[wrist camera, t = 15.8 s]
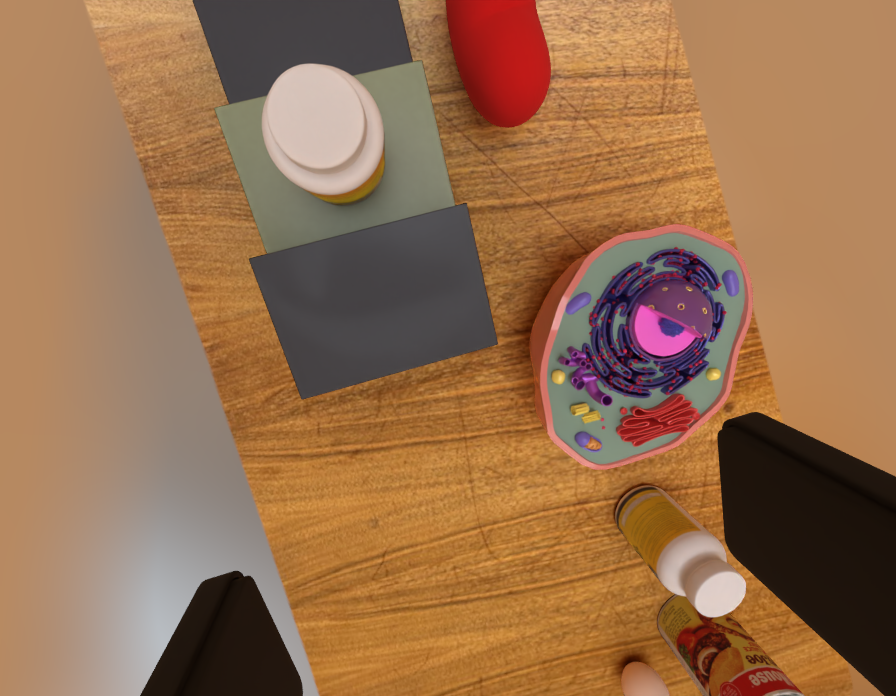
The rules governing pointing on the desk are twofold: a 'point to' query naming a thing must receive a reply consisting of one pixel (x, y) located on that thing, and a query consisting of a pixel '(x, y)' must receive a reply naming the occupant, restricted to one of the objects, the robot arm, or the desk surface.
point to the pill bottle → (679, 551)
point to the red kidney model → (500, 57)
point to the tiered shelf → (353, 226)
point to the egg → (642, 681)
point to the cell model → (639, 343)
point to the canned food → (720, 653)
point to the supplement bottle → (325, 133)
